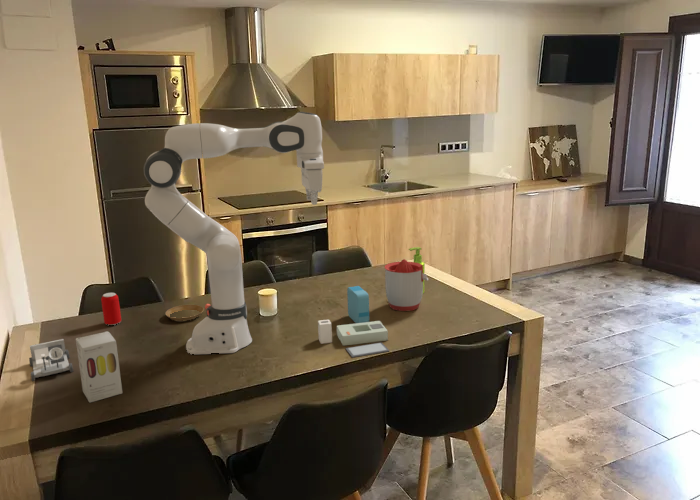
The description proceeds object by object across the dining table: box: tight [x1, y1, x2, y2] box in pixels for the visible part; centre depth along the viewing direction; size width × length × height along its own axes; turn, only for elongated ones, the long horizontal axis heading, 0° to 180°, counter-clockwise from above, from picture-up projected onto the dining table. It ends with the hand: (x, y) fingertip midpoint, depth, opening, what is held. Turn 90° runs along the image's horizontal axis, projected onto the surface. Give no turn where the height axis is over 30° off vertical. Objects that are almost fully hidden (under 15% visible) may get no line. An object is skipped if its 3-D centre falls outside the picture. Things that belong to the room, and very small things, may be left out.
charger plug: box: [317, 319, 333, 344], centre depth 199 cm, size 4×4×7 cm
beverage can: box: [100, 292, 122, 326], centre depth 219 cm, size 6×6×12 cm
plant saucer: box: [164, 304, 205, 322], centre depth 226 cm, size 15×15×3 cm
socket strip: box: [336, 320, 389, 346], centre depth 201 cm, size 16×10×4 cm, turn 103°
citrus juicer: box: [384, 258, 429, 312], centre depth 228 cm, size 16×17×20 cm
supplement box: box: [75, 331, 123, 404], centre depth 165 cm, size 10×9×17 cm
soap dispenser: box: [408, 246, 426, 294], centre depth 245 cm, size 6×7×20 cm
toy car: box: [28, 338, 74, 382], centre depth 182 cm, size 18×10×12 cm
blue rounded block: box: [346, 285, 370, 324], centre depth 217 cm, size 12×4×12 cm, turn 19°
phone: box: [345, 341, 390, 359], centre depth 191 cm, size 13×7×1 cm, turn 108°
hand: (311, 202), depth 195 cm, fingers open, 8 cm apart
